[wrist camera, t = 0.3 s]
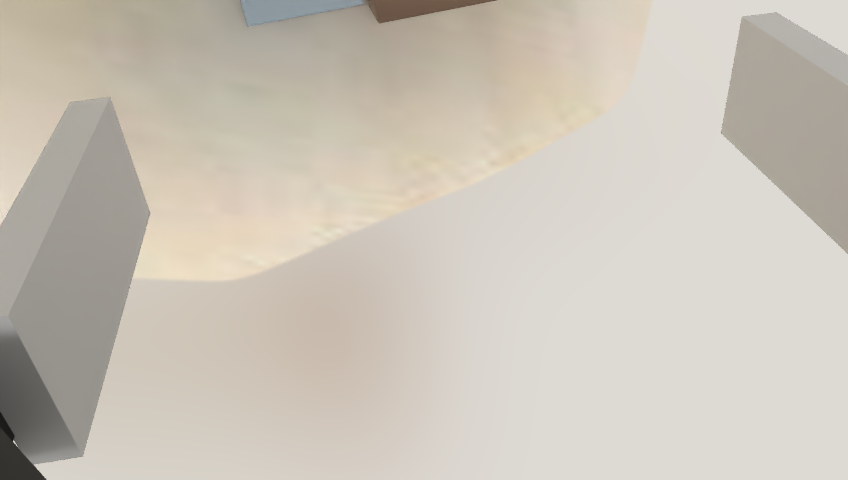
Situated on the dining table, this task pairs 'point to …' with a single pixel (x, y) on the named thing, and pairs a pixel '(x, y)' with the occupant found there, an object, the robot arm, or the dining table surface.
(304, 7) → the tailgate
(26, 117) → the dining table surface
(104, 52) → the dining table surface
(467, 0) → the brown wooden tray
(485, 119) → the dining table surface
